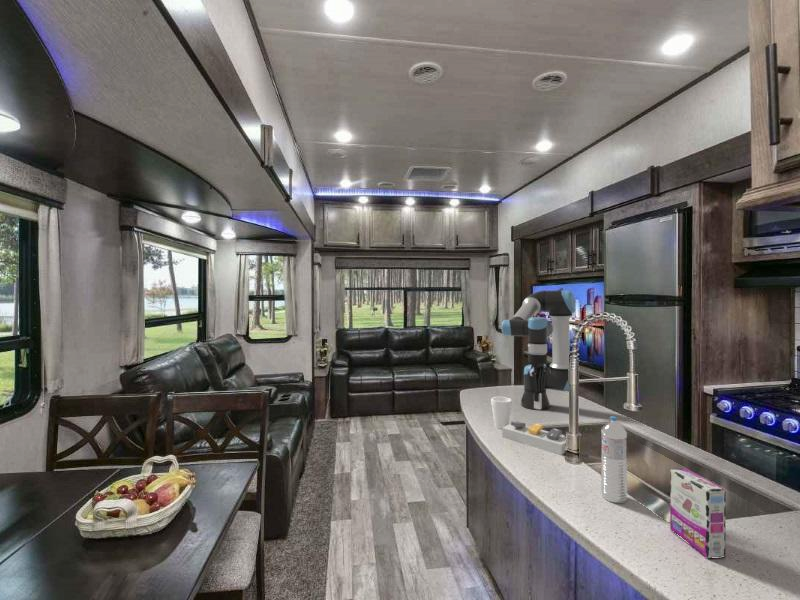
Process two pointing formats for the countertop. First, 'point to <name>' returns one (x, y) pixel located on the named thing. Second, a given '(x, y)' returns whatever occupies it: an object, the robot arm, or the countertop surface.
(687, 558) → the countertop surface
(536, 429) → the yellow sponge
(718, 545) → the candy bar box
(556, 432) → the rocker
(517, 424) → the rocker
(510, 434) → the grey tray
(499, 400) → the foam cup
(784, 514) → the countertop surface
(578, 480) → the countertop surface
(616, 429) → the water bottle
